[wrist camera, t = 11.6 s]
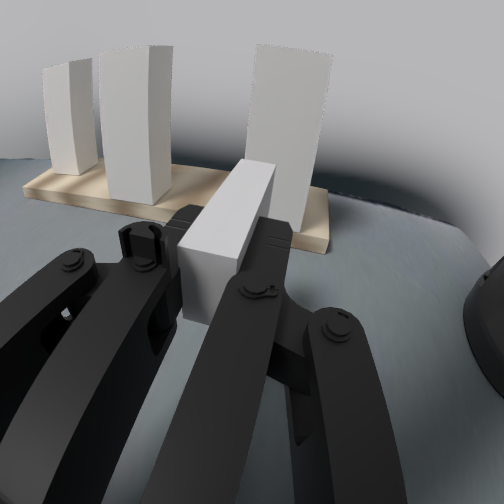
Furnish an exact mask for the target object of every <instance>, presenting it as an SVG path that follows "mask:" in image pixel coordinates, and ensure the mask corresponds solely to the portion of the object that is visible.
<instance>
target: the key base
mask: <svg viewBox="0 0 504 504" xmlns="http://www.w3.org/2000/svg"><path fill="white" fill-rule="evenodd" d="M230 173H231V172H228V171H221V170H214V169H207V168H200V167H191V166H184V165H175V164H171V178H172V187H171V188H170V189H169V190H168V191H167V192H166V193H165V194H164V195H163V196H162V197H161V198H160V199H159V200H158V201H157V202H156V203H155V204H154V205H148V204H142V203H135V202H129V201H123V200H117V199H110V198H109V191H108V185H107V178H106V170H105V162H104V158H98V164H96V165H94V166H93V167H91V168H90V169H88V170H87V171H85V172H84V173H82V174H80V175H68V174H56V173H54V172H53V167H52V168H50V169H49V170H47V171H46V172H44V173H43V174H41V175H39V176H38V177H36V178H35V179H33V180H32V181H30V182H29V183H27V184H26V185H25V186H23V191H24V195H25V197H27V198H33V199H38V200H44V201H50V202H56V203H61V204H67V205H73V206H78V207H84V208H89V209H95V210H101V211H106V212H112V213H117V214H122V215H128V216H133V217H139V218H144V219H149V220H155V221H160V222H165V223H167V222H168V221H169V220H170V219H171V218H172V216H173V215H174V214H175V213H176V212H177V211H178V210H179V209H181V208H183V207H185V206H186V205H188V204H193V205H198V206H204V207H205V206H206V205H207V203H208V202H209V201H210V199H211V198H212V197H213V195H214V194H215V193H216V191H217V190H218V189H219V187H220V186H221V185H222V183H223V182H224V181H225V179H226V178H227V177H228V175H229V174H230ZM328 242H329V211H328V190H326V189H322V188H317V187H312V186H310V187H309V192H308V196H307V201H306V206H305V211H304V215H303V220H302V224H301V229H300V233H299V232H294V231H293V236H292V241H291V247H292V248H297V249H302V250H307V251H311V252H316V253H321V254H325V252H326V249H327V246H328Z"/></svg>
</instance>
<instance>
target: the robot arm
mask: <svg viewBox="0 0 504 504" xmlns="http://www.w3.org/2000/svg"><path fill="white" fill-rule="evenodd" d="M275 170H276V165H275V164H270V163H264V162H258V161H253V160H247V159H241V160H240V161H239V163H238V164H237V165H236V167H235V168H234V169H233V170H232V172H231V173H230V174H229V175H228V177H227V178H226V179H225V181H224V182H223V183H222V185H221V186H220V187H219V189H218V190H217V191H216V193H215V194H214V195H213V197H212V198H211V199H210V201H209V202H208V203H207V205H206V206H205V207H204V206H198V205H193V204H188V205H186V206H185V207H183V208H181V209H179V210H178V211H177V212H176V213H175V214H174V215H173V216H172V218H171V219H170V220H169V221H168V222H167V224H166V226H164V227H163V226H162V225H160V224H157V223H155V222H148V221H142V222H135V223H132V224H129V225H126V226H124V227H123V228H122V229H120V230H119V231H118V233H119V239H120V244H121V249H122V254H123V258H122V259H121V261H120V262H119V263H96V262H95V258H94V255H93V254H92V252H91V251H90V250H87V249H84V248H75V249H71V250H68V251H66V252H64V253H62V254H61V255H59V256H58V257H56V258H55V259H54V260H52V261H51V262H50V263H48V264H47V265H46V266H45V267H43V268H42V269H41V270H39V271H38V272H37V273H36V274H34V275H33V276H32V277H30V278H29V279H28V280H27V281H26V282H24V283H23V284H22V285H21V286H19V287H18V288H17V289H16V290H15V291H13V292H12V293H11V294H10V295H9V296H8V297H6V298H5V299H4V300H3V301H2V302H1V303H0V504H101V502H102V499H103V497H104V494H105V492H106V489H107V487H108V484H109V482H110V479H111V477H112V474H113V472H114V470H115V467H116V465H117V462H118V460H119V458H120V455H121V453H122V450H123V448H124V446H125V443H126V441H127V439H128V436H129V434H130V432H131V429H132V427H133V425H134V423H135V420H136V418H137V416H138V414H139V411H140V409H141V407H142V405H143V402H144V400H145V398H146V396H147V393H148V391H149V389H150V387H151V385H152V382H153V380H154V378H155V376H156V374H157V372H158V369H159V367H160V365H161V363H162V361H163V359H164V356H165V354H166V352H167V350H168V348H169V346H170V344H171V342H172V340H173V337H174V335H175V333H176V329H177V321H176V318H177V316H178V314H179V312H180V310H181V308H182V313H183V318H184V319H188V320H191V321H195V322H199V323H202V324H206V325H210V326H209V329H208V331H207V334H206V336H205V339H204V341H203V344H202V346H201V349H200V351H199V353H198V356H197V358H196V361H195V363H194V366H193V368H192V371H191V373H190V376H189V379H188V381H187V384H186V386H185V389H184V391H183V394H182V396H181V399H180V401H179V404H178V406H177V409H176V411H175V414H174V416H173V419H172V422H171V424H170V427H169V429H168V432H167V434H166V437H165V440H164V442H163V445H162V447H161V450H160V452H159V455H158V458H157V460H156V463H155V465H154V468H153V471H152V473H151V476H150V478H149V481H148V484H147V486H146V489H145V492H144V494H143V497H142V500H141V502H140V504H234V502H235V498H236V495H237V491H238V488H239V484H240V480H241V476H242V473H243V469H244V465H245V461H246V457H247V454H248V450H249V446H250V442H251V438H252V434H253V430H254V425H255V421H256V417H257V413H258V409H259V404H260V400H261V396H262V391H263V387H264V383H265V378H266V375H267V376H269V377H271V378H273V379H275V380H277V381H278V382H280V383H282V384H284V387H285V397H286V407H287V417H288V428H289V439H290V450H291V461H292V473H293V485H294V498H295V504H408V503H407V497H406V491H405V485H404V480H403V475H402V469H401V465H400V460H399V455H398V450H397V446H396V442H395V437H394V433H393V429H392V425H391V421H390V417H389V413H388V409H387V405H386V401H385V398H384V394H383V391H382V387H381V383H380V380H379V377H378V373H377V370H376V366H375V363H374V360H373V357H372V353H371V350H370V347H369V344H368V341H367V338H366V335H365V332H364V329H363V327H362V325H361V323H360V322H359V320H358V319H357V318H356V317H355V316H353V315H352V314H351V313H349V312H347V311H345V310H343V309H340V308H334V307H327V308H321V309H319V310H318V311H316V312H314V313H312V312H310V311H308V310H306V309H304V308H302V307H301V306H299V305H297V304H296V303H295V302H294V301H293V300H291V299H290V297H289V296H288V294H287V293H286V290H285V287H284V280H285V275H286V270H287V264H288V258H289V253H290V247H291V241H292V236H293V230H292V228H291V226H290V224H289V222H286V221H281V220H276V219H271V218H268V215H269V208H270V202H271V196H272V189H273V183H274V176H275ZM66 308H68V310H69V312H70V315H69V316H67V317H63V316H62V314H61V312H62V311H63V310H64V309H66ZM464 323H465V328H466V333H467V336H468V339H469V342H470V345H471V348H472V350H473V352H474V355H475V357H476V359H477V361H478V363H479V365H480V366H481V368H482V370H483V371H484V373H485V375H486V376H487V378H488V379H489V380H490V382H491V383H492V385H493V386H494V387H495V388H496V389H497V391H498V392H499V393H500V394H501V395H502V396H503V397H504V256H503V257H502V258H501V259H500V260H499V261H498V262H497V263H496V264H495V265H494V266H493V267H492V268H491V269H490V270H488V271H486V272H485V273H484V274H483V275H482V276H481V277H480V278H479V279H478V281H477V282H476V284H475V285H474V287H473V288H472V290H471V291H470V293H469V294H468V296H467V298H466V301H465V304H464Z"/></svg>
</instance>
